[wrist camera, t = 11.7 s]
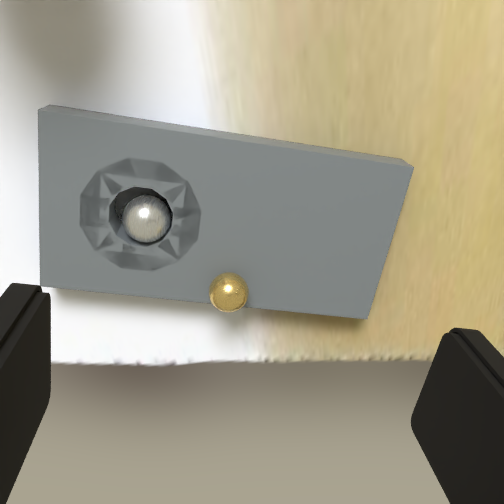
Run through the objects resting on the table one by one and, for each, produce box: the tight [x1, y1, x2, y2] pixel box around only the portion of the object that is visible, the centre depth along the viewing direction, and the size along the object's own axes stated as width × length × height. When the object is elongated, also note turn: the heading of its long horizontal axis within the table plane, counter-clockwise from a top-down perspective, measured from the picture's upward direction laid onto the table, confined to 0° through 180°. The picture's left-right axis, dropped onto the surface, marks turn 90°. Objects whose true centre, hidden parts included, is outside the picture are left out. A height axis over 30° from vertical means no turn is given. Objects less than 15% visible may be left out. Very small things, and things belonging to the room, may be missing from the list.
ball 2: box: [209, 272, 249, 312], centre depth 36 cm, size 3×3×3 cm
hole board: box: [38, 105, 414, 319], centre depth 37 cm, size 26×13×2 cm, turn 80°
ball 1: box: [122, 195, 171, 243], centre depth 35 cm, size 4×4×4 cm
